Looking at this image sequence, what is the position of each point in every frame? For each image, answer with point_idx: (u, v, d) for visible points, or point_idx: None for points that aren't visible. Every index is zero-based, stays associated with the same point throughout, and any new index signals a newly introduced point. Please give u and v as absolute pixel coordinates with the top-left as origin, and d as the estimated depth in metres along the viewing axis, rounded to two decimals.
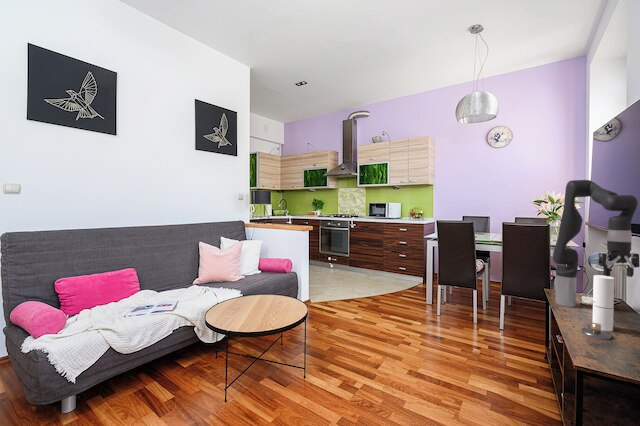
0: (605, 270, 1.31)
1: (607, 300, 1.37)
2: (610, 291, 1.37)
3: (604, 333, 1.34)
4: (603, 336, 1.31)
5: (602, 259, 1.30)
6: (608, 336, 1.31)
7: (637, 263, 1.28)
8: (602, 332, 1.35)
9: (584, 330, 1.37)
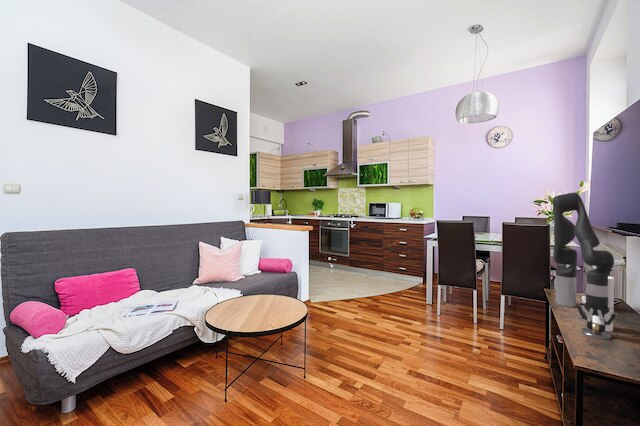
0: (604, 327, 1.32)
1: None
2: (610, 291, 1.37)
3: (604, 333, 1.34)
4: (603, 336, 1.31)
5: None
6: (608, 336, 1.31)
7: None
8: None
9: (584, 330, 1.37)
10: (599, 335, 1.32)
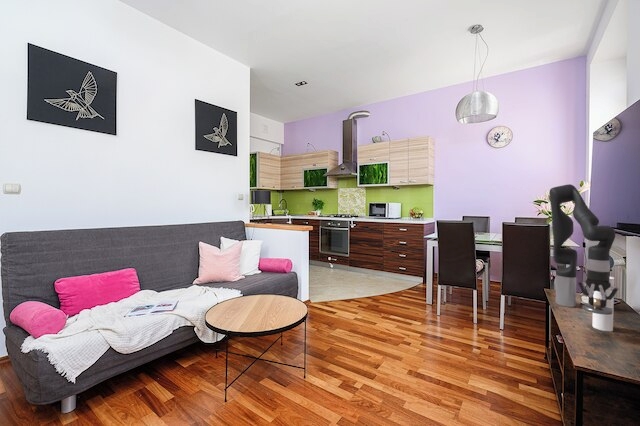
0: (606, 302, 1.32)
1: (607, 300, 1.37)
2: (610, 291, 1.37)
3: (605, 308, 1.33)
4: (604, 311, 1.30)
5: None
6: (609, 311, 1.30)
7: None
8: None
9: (585, 306, 1.36)
10: (600, 310, 1.31)
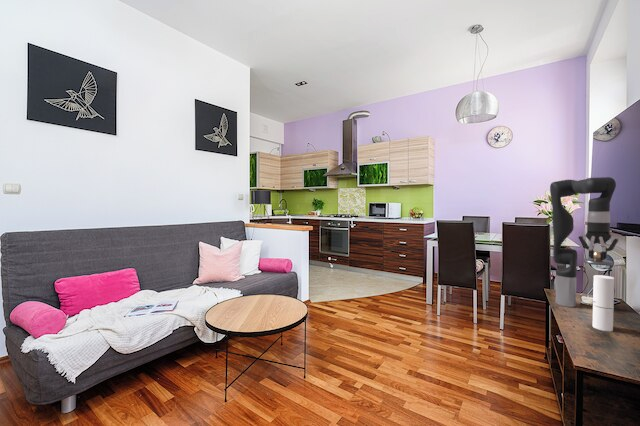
0: (606, 254, 1.31)
1: (607, 300, 1.37)
2: (610, 291, 1.37)
3: (606, 260, 1.32)
4: (605, 262, 1.30)
5: (615, 244, 1.29)
6: (610, 262, 1.29)
7: None
8: (603, 260, 1.33)
9: (585, 259, 1.36)
10: (601, 261, 1.30)
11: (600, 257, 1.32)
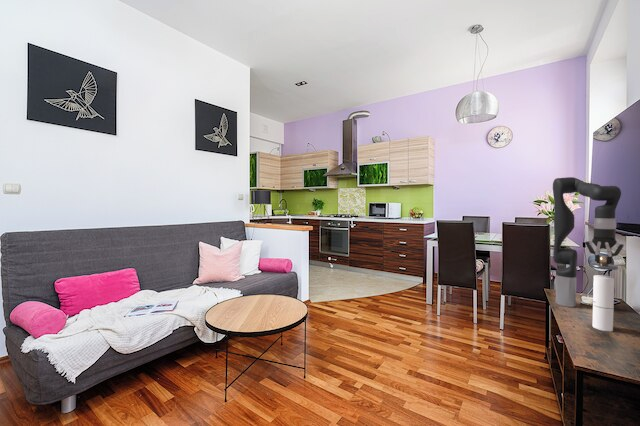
0: None
1: (607, 300, 1.37)
2: (610, 291, 1.37)
3: (611, 265, 1.39)
4: (610, 266, 1.36)
5: (620, 250, 1.36)
6: (615, 266, 1.36)
7: None
8: None
9: (592, 263, 1.42)
10: (607, 266, 1.37)
11: (606, 262, 1.39)
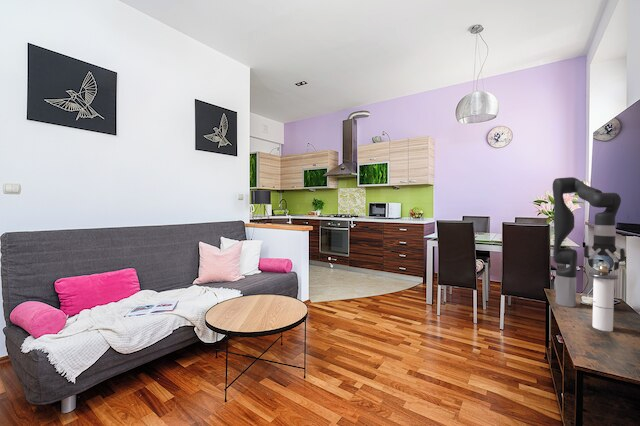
0: (618, 264, 1.36)
1: (607, 300, 1.37)
2: (610, 291, 1.37)
3: (611, 274, 1.39)
4: (610, 276, 1.36)
5: (624, 254, 1.35)
6: (615, 276, 1.36)
7: None
8: (609, 274, 1.40)
9: (592, 273, 1.43)
10: (606, 275, 1.37)
11: (606, 271, 1.39)
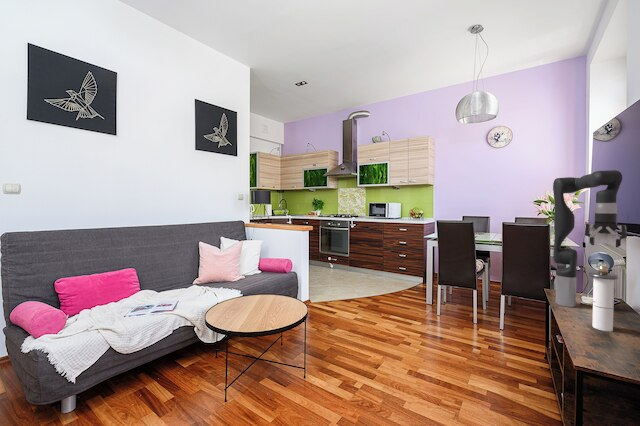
0: (620, 241, 1.36)
1: (606, 300, 1.37)
2: (610, 291, 1.37)
3: (611, 274, 1.39)
4: (610, 276, 1.36)
5: (626, 231, 1.35)
6: (615, 276, 1.36)
7: None
8: (609, 274, 1.40)
9: (592, 273, 1.43)
10: (606, 275, 1.37)
11: (606, 271, 1.39)
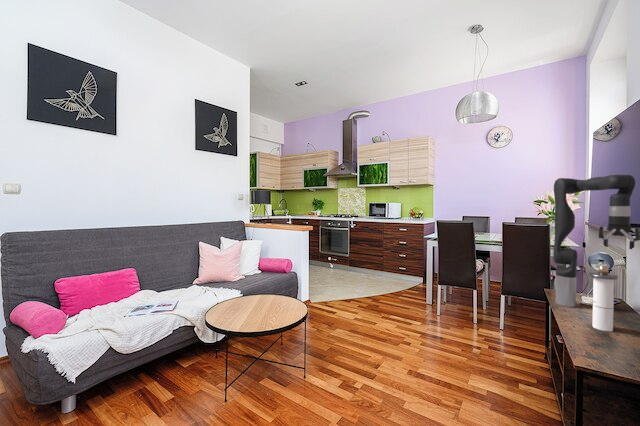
0: None
1: (606, 300, 1.37)
2: (610, 291, 1.37)
3: (611, 274, 1.39)
4: (610, 276, 1.36)
5: None
6: (615, 276, 1.36)
7: None
8: (609, 274, 1.40)
9: (592, 273, 1.43)
10: (606, 275, 1.37)
11: (606, 271, 1.39)
